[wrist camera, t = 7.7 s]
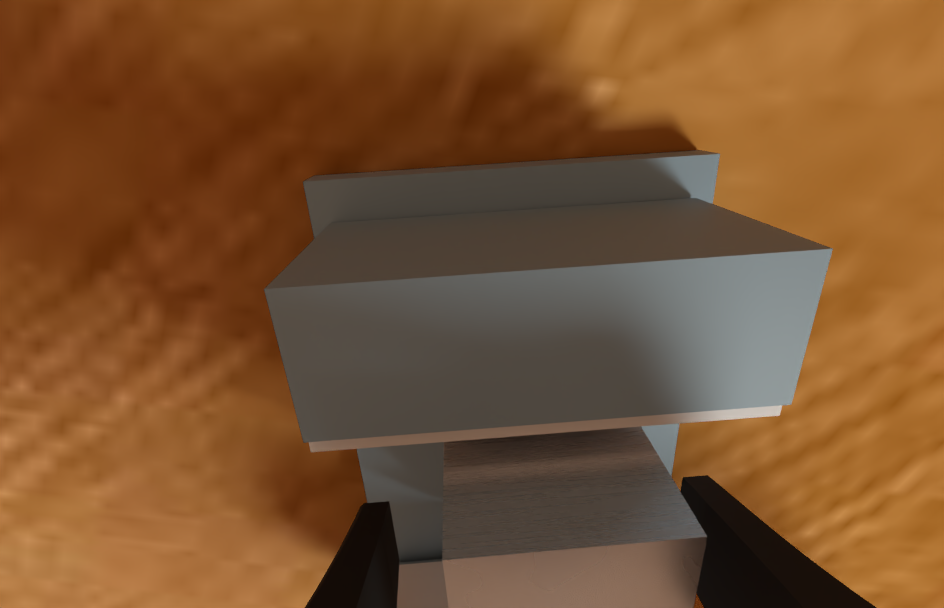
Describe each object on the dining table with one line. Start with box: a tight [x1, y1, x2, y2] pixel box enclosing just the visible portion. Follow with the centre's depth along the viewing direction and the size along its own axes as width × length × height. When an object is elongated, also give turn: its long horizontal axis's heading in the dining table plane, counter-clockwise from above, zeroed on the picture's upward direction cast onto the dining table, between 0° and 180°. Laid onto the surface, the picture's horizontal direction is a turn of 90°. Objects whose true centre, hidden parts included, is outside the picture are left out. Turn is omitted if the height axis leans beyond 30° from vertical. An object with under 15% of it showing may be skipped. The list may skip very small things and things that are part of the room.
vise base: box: [264, 150, 832, 562], centre depth 13 cm, size 20×10×6 cm, turn 3°
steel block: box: [442, 426, 707, 608], centre depth 11 cm, size 6×4×6 cm, turn 4°
